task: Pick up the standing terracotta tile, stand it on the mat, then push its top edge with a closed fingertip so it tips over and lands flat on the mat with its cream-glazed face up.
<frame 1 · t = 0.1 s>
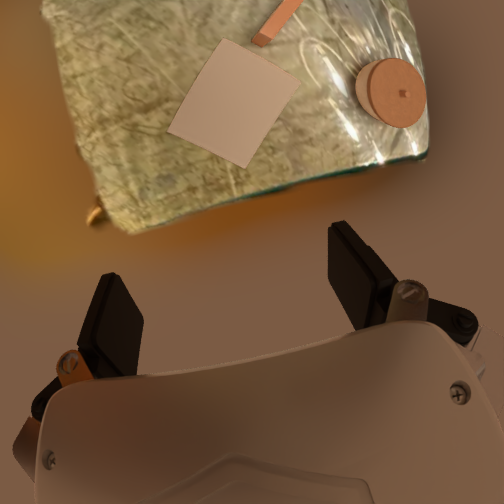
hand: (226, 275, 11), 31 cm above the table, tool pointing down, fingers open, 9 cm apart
mat: (233, 102, 34), on the table
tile: (272, 22, 28), on the table
lidded jar: (371, 89, 35), on the table
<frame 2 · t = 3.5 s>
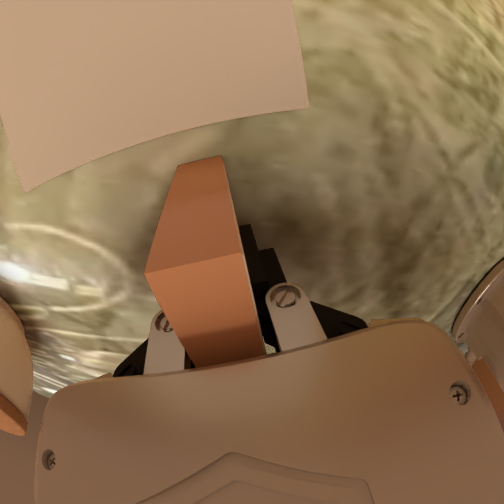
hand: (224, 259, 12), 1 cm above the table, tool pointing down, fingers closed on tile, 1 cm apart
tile: (222, 250, 13), on the table, touching gripper
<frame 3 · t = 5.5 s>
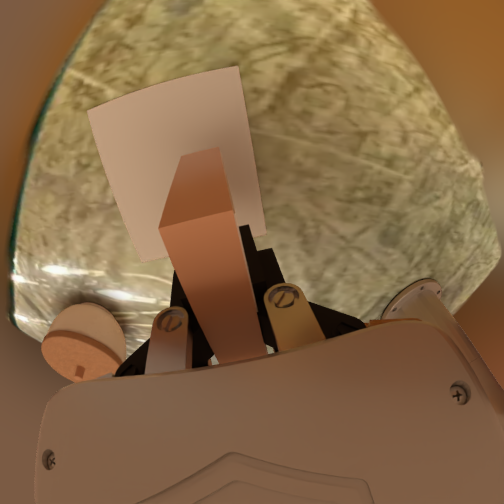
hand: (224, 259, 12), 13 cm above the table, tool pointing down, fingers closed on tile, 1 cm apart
mat: (179, 170, 22), on the table
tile: (220, 231, 14), point 10 cm above the table, touching gripper
lidded jar: (95, 317, 31), on the table
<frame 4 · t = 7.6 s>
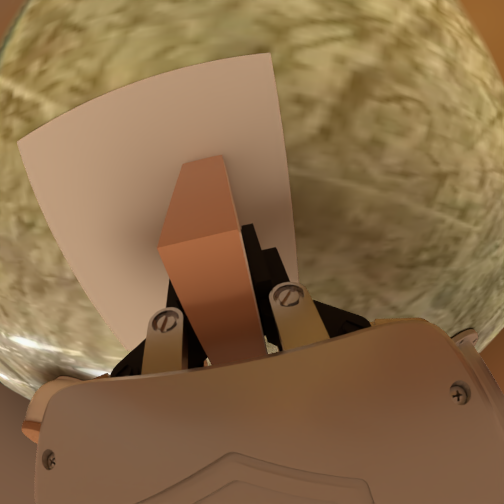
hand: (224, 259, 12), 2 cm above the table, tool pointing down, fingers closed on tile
mat: (168, 237, 14), on the table
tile: (223, 243, 14), resting on mat, touching gripper
lidded jar: (80, 389, 22), on the table
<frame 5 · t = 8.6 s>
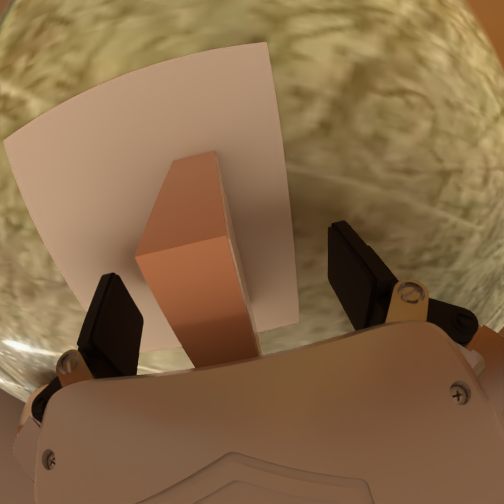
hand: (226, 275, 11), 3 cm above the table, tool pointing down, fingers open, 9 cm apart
mat: (159, 238, 13), on the table
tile: (217, 244, 13), resting on mat
lidded jar: (75, 392, 21), on the table
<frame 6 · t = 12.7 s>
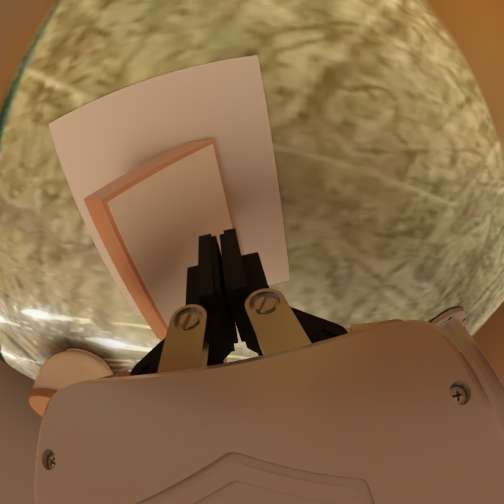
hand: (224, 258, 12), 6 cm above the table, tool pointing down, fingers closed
mat: (176, 203, 17), on the table
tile: (218, 211, 16), point 1 cm above the table, tilted 39°, touching mat
lidded jar: (86, 362, 25), on the table
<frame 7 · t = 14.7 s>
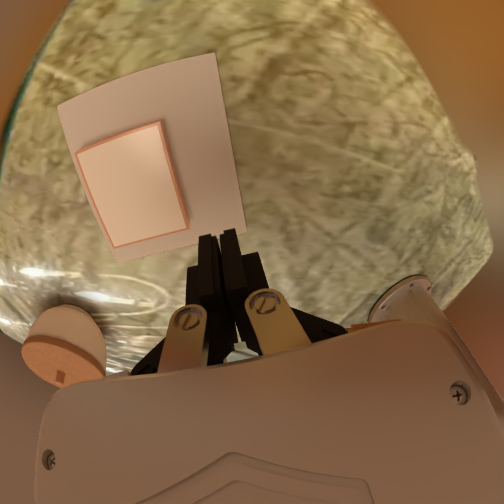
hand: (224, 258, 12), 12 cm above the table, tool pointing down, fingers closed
mat: (153, 166, 20), on the table
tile: (175, 174, 20), point 1 cm above the table, tilted 90°, touching mat
lidded jar: (75, 319, 28), on the table
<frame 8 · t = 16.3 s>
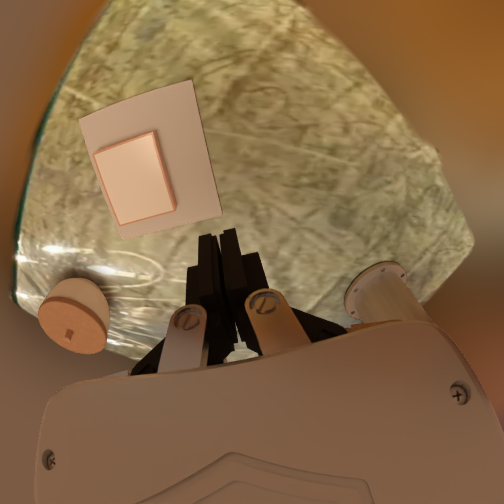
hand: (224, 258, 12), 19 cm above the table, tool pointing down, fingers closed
mat: (150, 164, 27), on the table
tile: (165, 170, 27), point 1 cm above the table, tilted 90°, touching mat
lidded jar: (85, 292, 36), on the table
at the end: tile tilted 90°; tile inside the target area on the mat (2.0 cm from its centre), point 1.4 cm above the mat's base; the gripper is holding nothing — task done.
